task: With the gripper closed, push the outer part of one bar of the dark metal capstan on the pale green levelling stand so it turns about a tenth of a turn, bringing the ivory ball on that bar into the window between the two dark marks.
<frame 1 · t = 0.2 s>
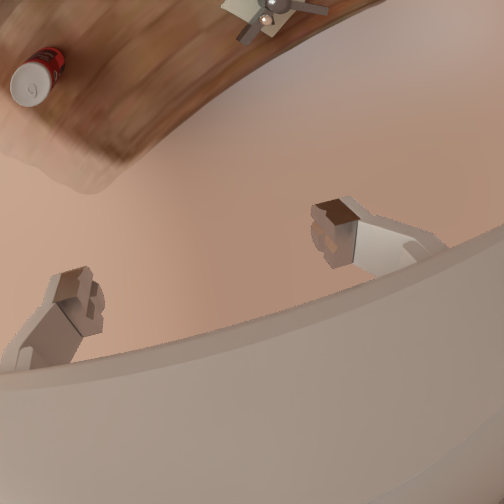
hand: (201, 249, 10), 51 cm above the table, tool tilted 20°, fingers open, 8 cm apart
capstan: (267, 10, 38), point 5 cm above the table, hinge at 0.0°
canned food: (47, 64, 36), on the table
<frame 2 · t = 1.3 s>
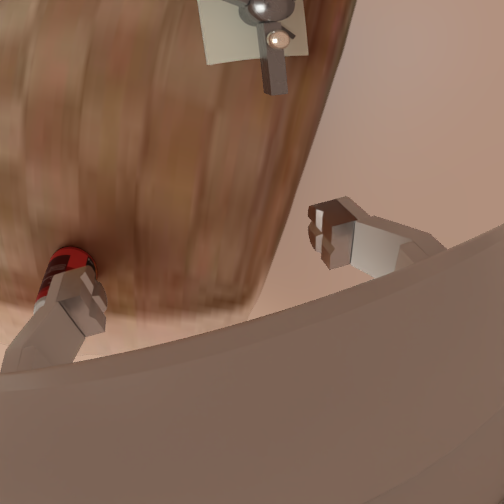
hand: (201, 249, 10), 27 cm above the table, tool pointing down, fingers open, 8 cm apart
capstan: (268, 24, 23), point 5 cm above the table, hinge at 0.0°
canned food: (74, 265, 39), on the table
stand plate: (251, 13, 26), on the table
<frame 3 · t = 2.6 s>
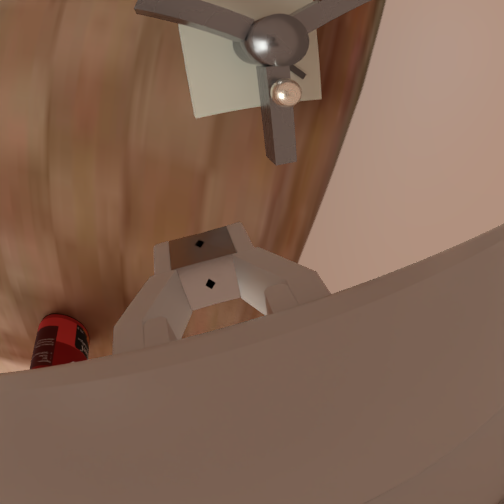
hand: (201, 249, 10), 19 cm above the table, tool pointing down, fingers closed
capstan: (272, 66, 19), point 5 cm above the table, hinge at 0.0°
canned food: (64, 329, 35), on the table
stand plate: (249, 44, 22), on the table
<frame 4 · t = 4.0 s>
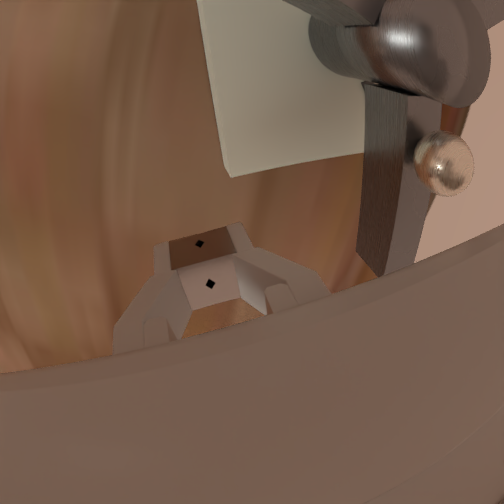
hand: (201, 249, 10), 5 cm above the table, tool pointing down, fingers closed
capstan: (402, 92, 8), point 5 cm above the table, hinge at 0.0°
stand plate: (328, 36, 11), on the table
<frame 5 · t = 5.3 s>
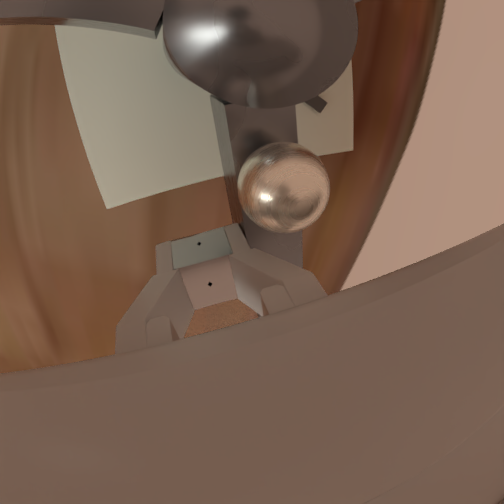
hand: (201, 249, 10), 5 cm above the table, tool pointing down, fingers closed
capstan: (247, 97, 8), point 5 cm above the table, hinge at 0.0°, touching gripper
stand plate: (209, 41, 10), on the table
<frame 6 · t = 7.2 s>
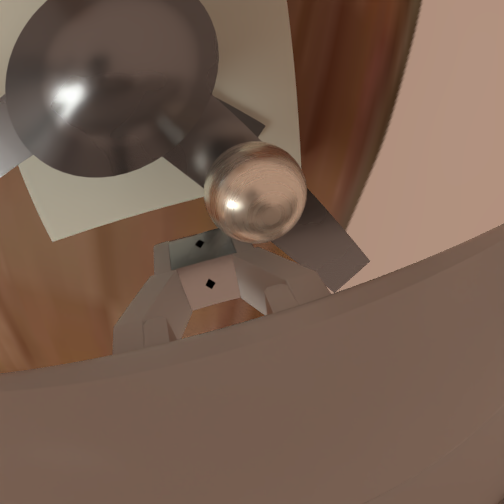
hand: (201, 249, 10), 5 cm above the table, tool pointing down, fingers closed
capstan: (182, 116, 7), point 5 cm above the table, hinge at 36.4°
stand plate: (139, 68, 10), on the table
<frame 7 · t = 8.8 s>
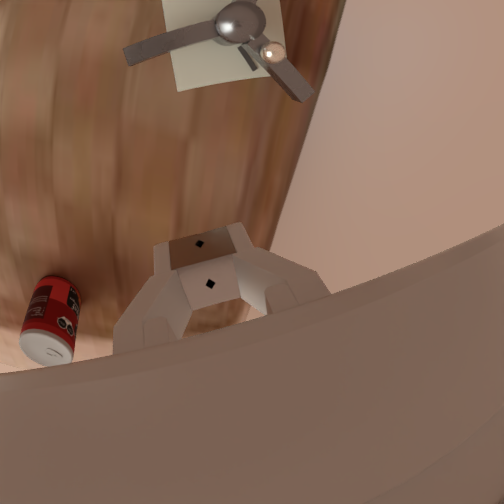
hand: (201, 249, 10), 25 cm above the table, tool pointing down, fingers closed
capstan: (251, 39, 22), point 5 cm above the table, hinge at 36.4°
canned food: (58, 293, 38), on the table
stand plate: (224, 30, 25), on the table
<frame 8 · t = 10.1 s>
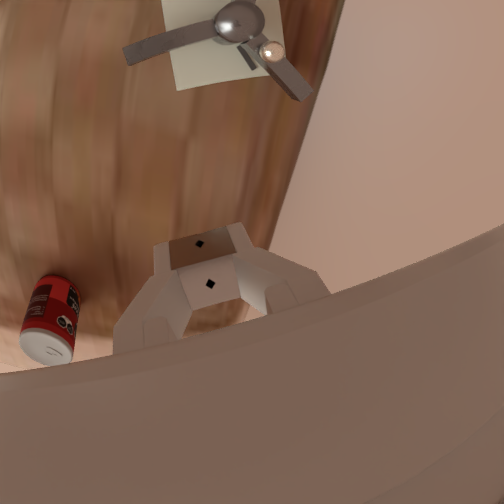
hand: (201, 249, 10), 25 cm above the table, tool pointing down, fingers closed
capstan: (250, 38, 22), point 5 cm above the table, hinge at 36.4°
canned food: (58, 292, 38), on the table
stand plate: (223, 29, 25), on the table
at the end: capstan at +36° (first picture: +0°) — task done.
